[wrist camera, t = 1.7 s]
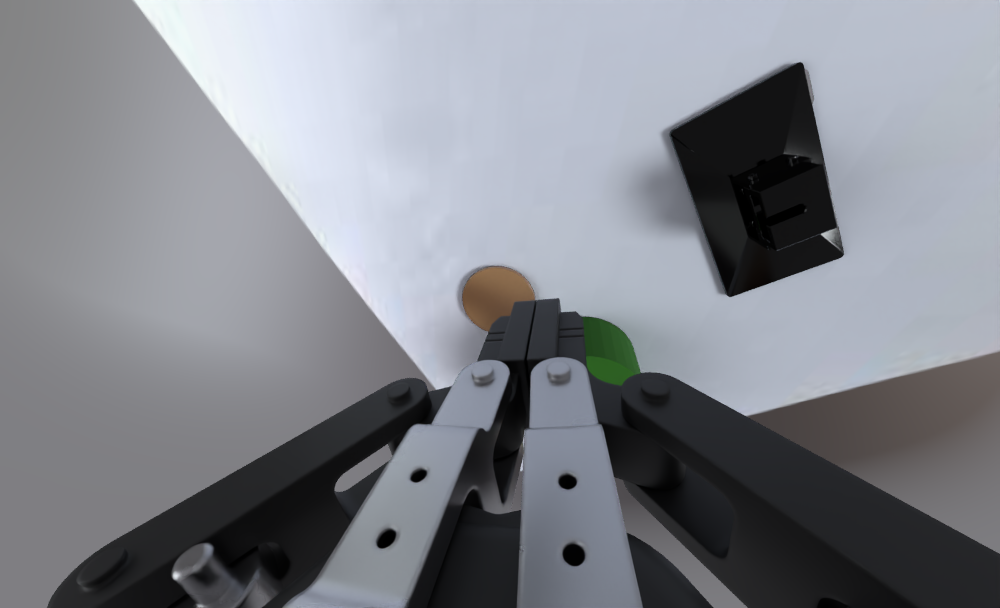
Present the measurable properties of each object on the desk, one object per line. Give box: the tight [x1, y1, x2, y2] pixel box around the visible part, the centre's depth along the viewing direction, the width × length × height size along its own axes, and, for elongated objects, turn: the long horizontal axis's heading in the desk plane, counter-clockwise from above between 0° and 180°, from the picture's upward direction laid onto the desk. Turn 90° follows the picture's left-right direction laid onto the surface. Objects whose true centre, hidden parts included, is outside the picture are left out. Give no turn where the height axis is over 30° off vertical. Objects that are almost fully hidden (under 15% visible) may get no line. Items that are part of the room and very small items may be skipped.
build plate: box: [670, 62, 844, 297], centre depth 20 cm, size 12×7×5 cm, turn 30°
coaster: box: [462, 266, 535, 332], centre depth 29 cm, size 6×6×1 cm
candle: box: [582, 317, 641, 386], centre depth 26 cm, size 8×8×10 cm
